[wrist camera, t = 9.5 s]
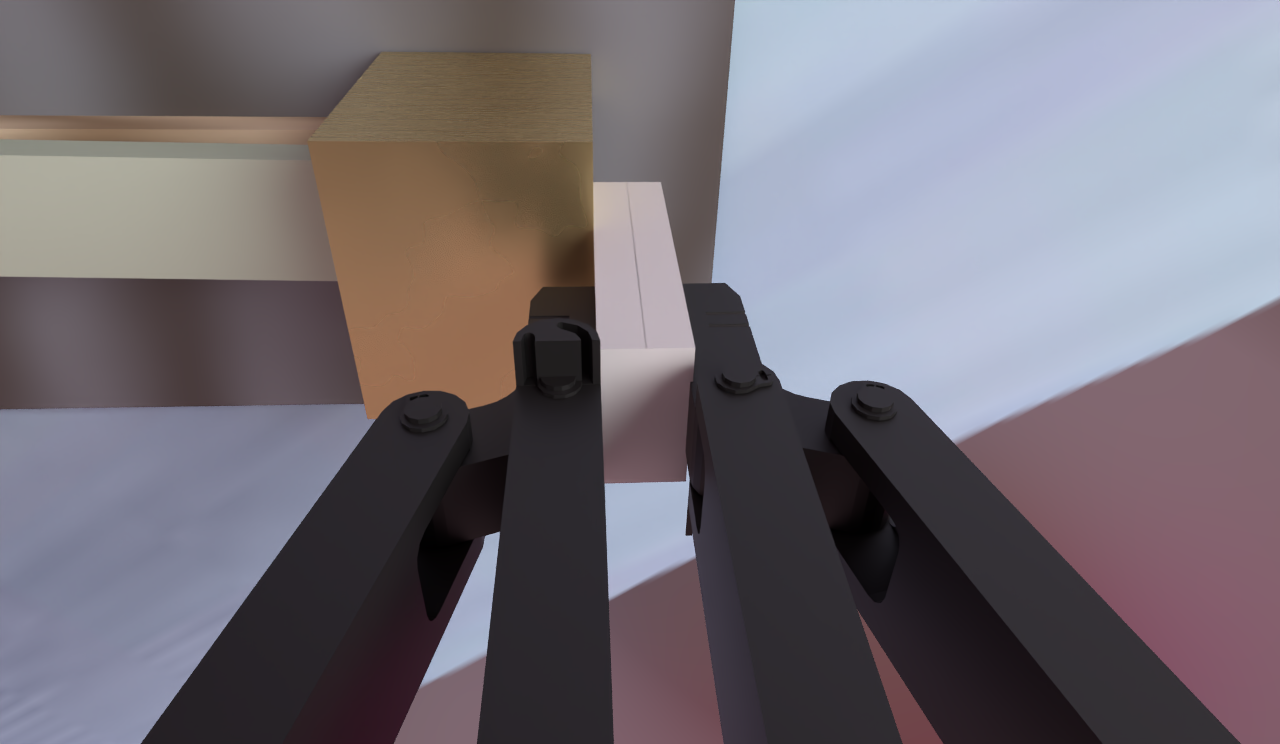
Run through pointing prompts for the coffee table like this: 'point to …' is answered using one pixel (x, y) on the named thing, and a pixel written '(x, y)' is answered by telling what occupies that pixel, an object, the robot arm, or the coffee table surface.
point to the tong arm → (161, 211)
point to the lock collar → (454, 212)
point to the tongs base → (290, 114)
